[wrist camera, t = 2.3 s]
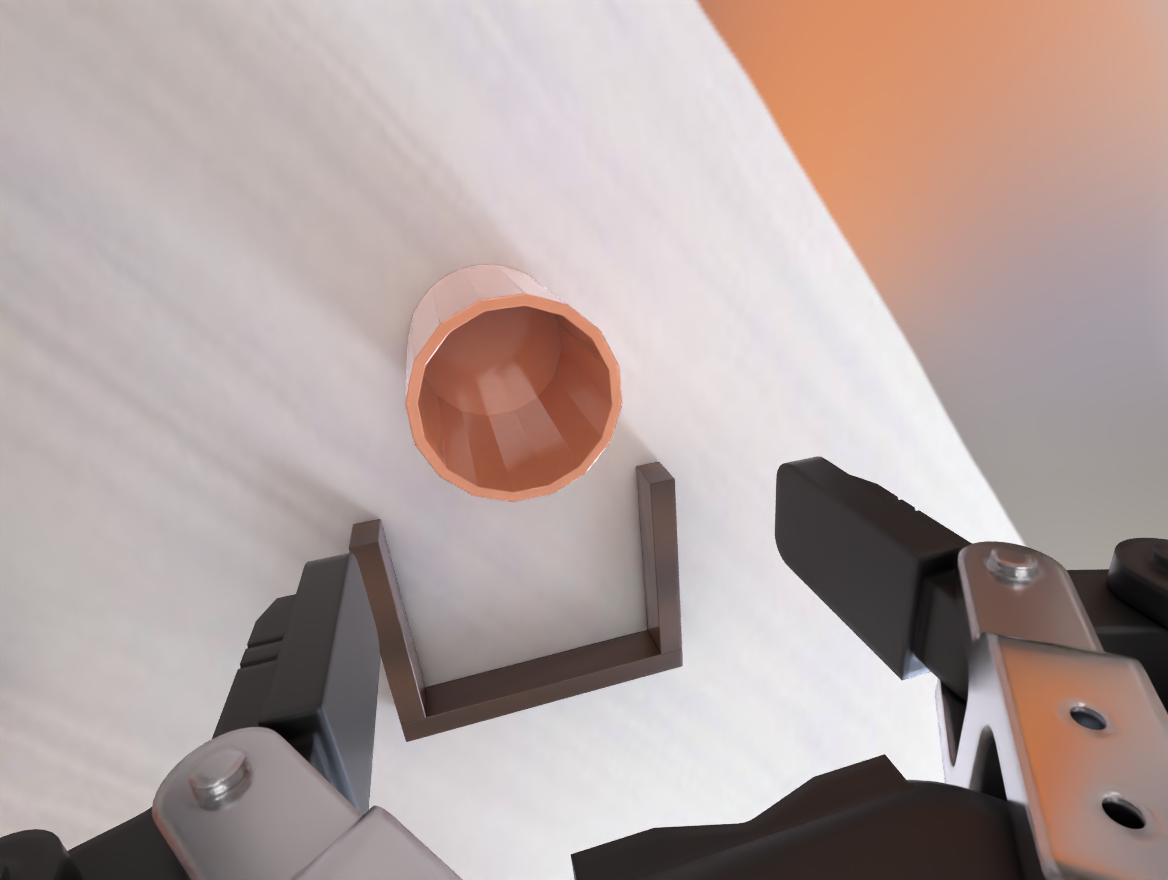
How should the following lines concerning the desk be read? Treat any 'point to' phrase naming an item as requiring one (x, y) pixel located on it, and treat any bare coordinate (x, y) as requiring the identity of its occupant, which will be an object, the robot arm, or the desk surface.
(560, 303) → the tumbler
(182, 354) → the desk surface
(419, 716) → the frame
